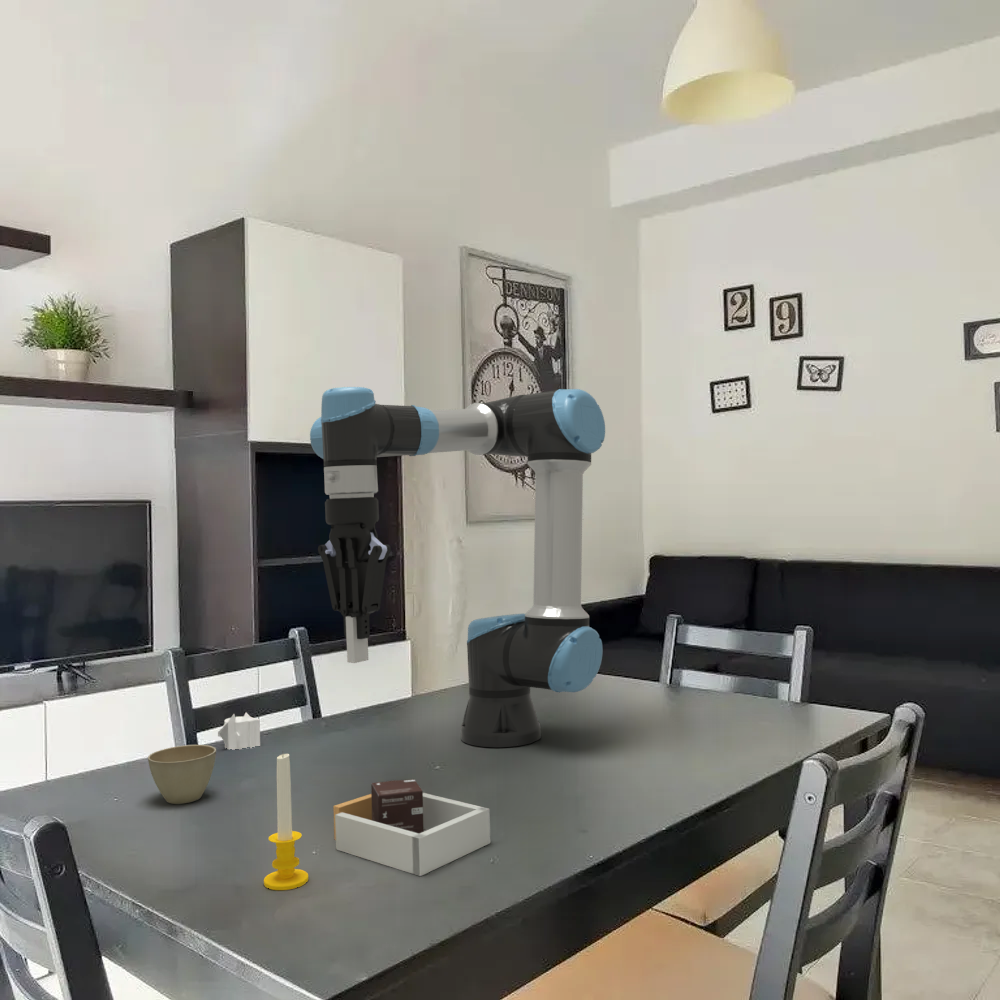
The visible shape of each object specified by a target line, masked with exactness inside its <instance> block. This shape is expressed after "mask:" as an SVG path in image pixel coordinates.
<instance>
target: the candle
mask: <svg viewBox="0 0 1000 1000" xmlns="http://www.w3.org/2000/svg"><path fill="white" fill-rule="evenodd" d="M290 760H291V759H290V754H289V753H284V752H282V754H279V756H277V757H276V813H277V820H276V821H277V822H276V823H277V832H275V833H273V834H271V835H270V836H268V841H269V842H271V843H273V844H275V847H276V850H275V854H276V858H274V860H273V861H272V863H271V866H272V868H273V869H275V870H276V871H272V872H271V873H268V874H267V875H265V877H264V879H263V885H264V887H265V888H267V889H268V888H269V889H268V890H273V891H288V890H289V891H290V890H295V889H298V888H300V887H302V886H304V885H306V884H307V883H308V881H309V873H308V872H307V871H305V870H303V869H300V868H296V867H298V866H299V865H300V858H299V857H297V856H295V853H296V847H295V844H296V841H298V840H300V839H301V838H302V836H303V835H302V833H301V832H299V831H296V830H293V817H292V816H293V815H292V786H291V785H292V783H291V762H290ZM306 882H307V883H306ZM297 887H298V888H297Z"/></svg>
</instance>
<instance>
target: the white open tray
mask: <svg viewBox="0 0 1000 1000" xmlns="http://www.w3.org/2000/svg"><path fill="white" fill-rule="evenodd" d="M490 813H491V812H490V808H488V807H485V806H484V807H483V806H479V805H475V804H471V803H467V802H463V801H459V800H455V799H451V798H447V797H442V796H437V795H434V794H430V793H426V792H423V827H424V832H422V833H415V832H411V831H408V830H404V829H401V828H397V827H393V826H390V825H386V824H383V823H379V822H375V821H372V820H368V819H365V818H361V817H358V816H354V815H350V814H347V813H343V812H341V813H339V814H336V815H335V826H336V840H335V850H338V851H340V852H343V853H346V854H349V855H352V856H356V857H359V858H362V859H364V860H367V861H372V862H375V863H377V864H381V865H384V866H387V867H391V868H393V869H397V870H400V871H403V872H406V873H409V874H412V875H416V876H418V877H421V876H424V875H426V874H428V873H429V872H433V871H434V870H437V869H439V868H441V867H443V866H446V865H448V864H449V863H451V862H453V861H455V860H457V859H460V858H462V857H464V856H466V855H468V854H471V853H473V852H474V851H477V850H479V849H480V848H483V847H484V846H487V845H489V844H491V821H490V819H491V818H490V817H491V816H490Z"/></svg>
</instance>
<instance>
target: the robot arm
mask: <svg viewBox="0 0 1000 1000" xmlns="http://www.w3.org/2000/svg"><path fill="white" fill-rule="evenodd" d="M322 393H323V394H322V396H321V407H320V408H321V413H320V414H321V415H320V416H319V418H317V419H316V420H315V421H314V422H313V424H312V425H311V428H310V432H309V440H310V445H311V447H312V449H313V452H314V453H315V454H316V456H318V457H320V458H321V459H322V460H323V473H324V474H323V475H324V481H323V482H324V493H325V495H327V496H329V498H327V499H326V501H324V507H325V509H324V511H325V513H324V514H325V522H326V524H327V525H329V526H330V532H329V534H328V535H329V537H328V538H329V540H328V541H327V542H326V543H325V544H320V545H318V548H317V551H318V552H317V553H318V554H319V556H320V558H321V560H322V562H323V568H324V572H325V578H326V583H327V588H328V594H329V597H330V604H331V608H332V610H333V611H334V612H335V611H338V612H339V613H340V614H341V615H342V617H343V634H344V638H345V639H346V657H347V658H346V659H347V660H346V661H347V663H348V664H349V663H351V664H357V663H361V662H367V661H369V642H368V641H369V640H368V639H369V638H370V636H371V633H370V632H371V630H370V628H371V627H370V616H371V614H373V613H375V612H378V611H380V609H381V605H382V596H383V588H384V581H385V575H386V567H387V560H388V558H389V556H390V553H391V550H392V547H391V545H390V544H383V543H382V542H381V541H380V539H378V537H379V536H378V533H377V530H376V523H378V522H379V520H380V514H379V513H380V512H379V499H377V497H374V495H375V494H377V493H378V492H379V485H378V468H377V467H378V466H377V465H378V461H377V458H384V457H396V456H400V457H401V456H409V457H416V456H423V455H424V456H425V455H428V454H437V453H449V452H450V453H452V452H460V451H461V452H462V451H464V452H466V451H467V452H469V453H470V454H473V455H475V456H476V455H477V456H483V455H496V456H507V457H527V465H528V466H529V468H531V470H533V471H534V473H535V483H534V485H535V487H534V488H535V489H534V490H535V491H534V493H535V494H534V539H533V540H534V548H533V549H534V551H533V553H534V554H533V555H534V556H533V603H532V606H531V608H529V610H528V611H526V613H513V614H505V615H503V614H502V615H496V616H489V617H482V618H477V619H474V620H472V621H470V622H469V624H468V627H467V640H466V648H467V651H466V652H467V669H468V699H467V700H468V701H467V704H466V706H465V707H466V708H465V711H464V716H463V720H462V723H461V725H460V726H461V727H460V740H461V741H462V742H463V743H465V744H468V745H470V746H475V747H482V748H483V747H484V748H510V747H519V746H525V745H530V744H532V743H534V742H537V741H538V740H540V739H541V738H542V735H541V733H542V731H541V729H542V728H541V723H540V721H539V719H538V716H537V711H536V709H535V706H534V702H533V700H532V696H531V688H534V689H542V690H549V691H552V692H555V693H562V692H564V693H578V692H581V691H583V690H585V689H586V688H587V687H589V685H591V684H592V682H593V681H594V678H596V676H597V674H598V672H599V670H600V667H601V665H602V661H603V660H602V659H603V652H604V651H603V641H602V639H601V638H600V634H599V633H598V631H597V630H596V629H594V628H592V627H590V615H589V614H588V612H587V611H586V610H584V608H583V607H582V564H583V563H582V558H583V557H582V556H583V555H582V552H583V490H584V489H583V488H584V487H583V486H584V484H583V483H584V482H583V481H584V479H583V477H584V473H585V471H586V470H588V469H589V468H590V467H591V466H592V454H594V453H595V452H597V451H599V450H600V449H601V448H602V445H603V444H602V443H604V441H605V438H606V423H605V422H606V421H605V418H604V414H603V411H602V409H601V407H600V405H599V404H598V402H597V401H596V399H595V398H594V397H593V395H591V394H590V392H587V391H586V390H583V389H581V388H580V389H579V388H570V389H567V388H565V389H563V388H559V389H555V390H549V391H543V392H536V393H528V394H519V395H513V396H510V397H505V398H502V399H501V398H500V399H497V400H493V401H488V402H487V401H486V402H473V403H471V404H469V405H468V406H467V407H465V408H459V409H458V408H457V409H456V408H454V409H453V408H451V409H429V408H427V407H421V406H416V405H415V404H411V405H400V404H399V405H398V404H397V405H396V404H394V405H393V404H380V403H377V402H376V400H375V393H374V390H373V389H370V388H369V387H368V388H367V387H364V386H363V387H362V386H344V387H333V388H329V389H327V390H325V391H324V392H322Z"/></svg>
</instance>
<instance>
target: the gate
mask: <svg viewBox="0 0 1000 1000" xmlns="http://www.w3.org/2000/svg"><path fill="white" fill-rule="evenodd" d="M341 812H343V813H347V814H350V815H354V816H358V817H361V818H365V819H368V820H372V797H371V793H370V794H366V795H363V796H360V797H357V798H354V799H351V800H348V801H347V800H346V801H344V802H342V803H339V804H336V805H333V834H334V835H333V838H334V839H333V840H334V841H336V826H335V815H336V814H339V813H341Z"/></svg>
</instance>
